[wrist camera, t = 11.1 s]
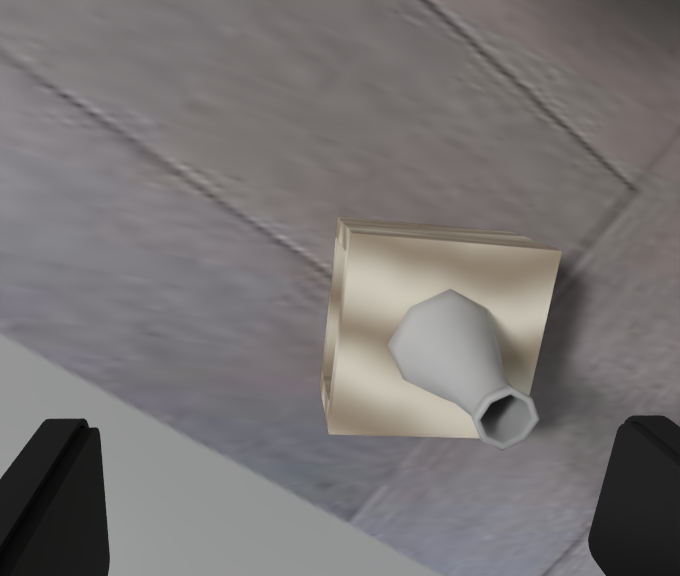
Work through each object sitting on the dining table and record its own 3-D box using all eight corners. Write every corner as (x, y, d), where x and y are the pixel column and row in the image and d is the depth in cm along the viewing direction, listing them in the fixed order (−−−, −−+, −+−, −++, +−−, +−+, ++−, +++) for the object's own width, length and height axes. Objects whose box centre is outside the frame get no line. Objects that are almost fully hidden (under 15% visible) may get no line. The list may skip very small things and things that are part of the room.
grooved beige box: (337, 216, 38) (351, 233, 32) (514, 232, 41) (561, 250, 34) (320, 387, 42) (329, 434, 35) (482, 393, 44) (519, 439, 38)
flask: (514, 342, 35) (604, 418, 26) (435, 411, 36) (494, 509, 26) (450, 268, 33) (522, 321, 24) (367, 342, 34) (404, 423, 24)
